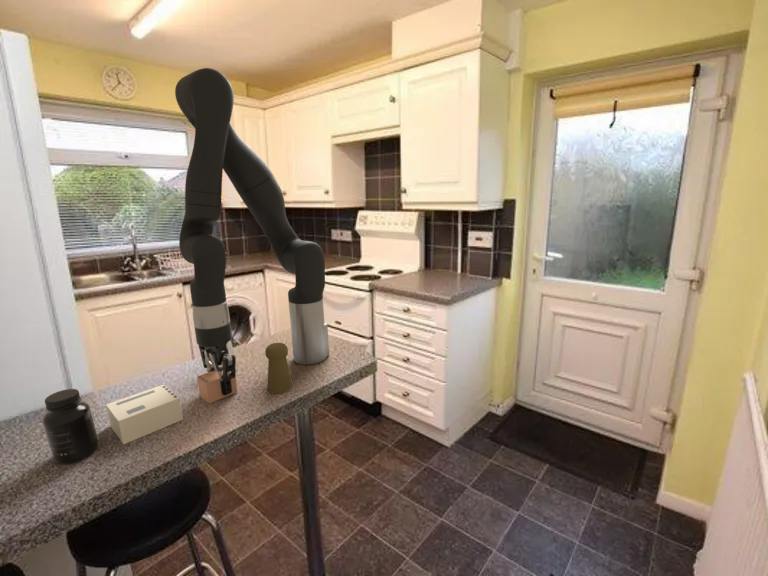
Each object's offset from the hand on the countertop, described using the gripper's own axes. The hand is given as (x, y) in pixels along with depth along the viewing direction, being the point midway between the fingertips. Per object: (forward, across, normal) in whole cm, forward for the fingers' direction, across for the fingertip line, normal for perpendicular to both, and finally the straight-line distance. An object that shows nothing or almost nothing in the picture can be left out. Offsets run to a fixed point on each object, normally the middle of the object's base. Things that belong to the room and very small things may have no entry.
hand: (221, 389), depth 93 cm
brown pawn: (+1, -8, -11) cm, 13 cm away
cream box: (+1, 0, +16) cm, 16 cm away
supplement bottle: (+1, -1, +28) cm, 28 cm away
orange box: (+1, 0, +1) cm, 1 cm away
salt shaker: (+1, +11, -7) cm, 13 cm away
